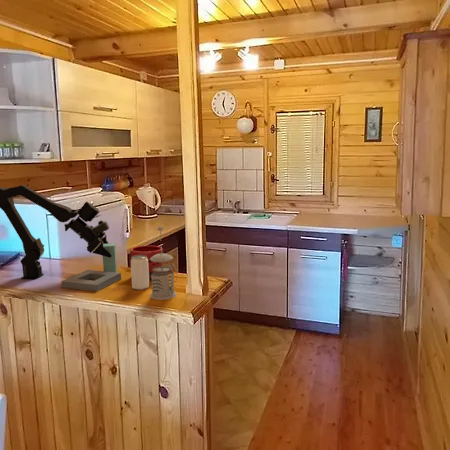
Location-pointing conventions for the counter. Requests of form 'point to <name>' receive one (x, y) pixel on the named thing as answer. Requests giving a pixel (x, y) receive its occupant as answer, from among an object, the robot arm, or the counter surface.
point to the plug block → (110, 263)
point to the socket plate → (85, 283)
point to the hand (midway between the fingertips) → (112, 254)
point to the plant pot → (144, 251)
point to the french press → (162, 277)
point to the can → (139, 272)
